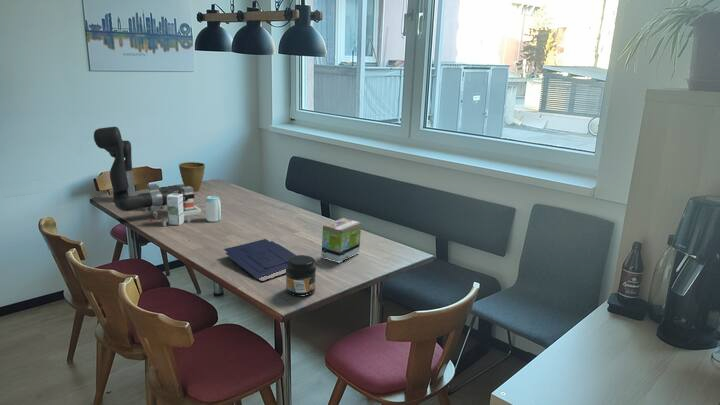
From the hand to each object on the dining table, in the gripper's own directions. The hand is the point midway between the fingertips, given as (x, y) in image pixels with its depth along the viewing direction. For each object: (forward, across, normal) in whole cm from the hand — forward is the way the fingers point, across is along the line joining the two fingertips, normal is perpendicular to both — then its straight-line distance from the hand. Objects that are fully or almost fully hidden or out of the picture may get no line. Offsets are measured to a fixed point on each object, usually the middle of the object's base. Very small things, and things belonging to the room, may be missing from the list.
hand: (190, 194), depth 264 cm
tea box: (+26, -92, +10) cm, 96 cm away
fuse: (-13, +16, +10) cm, 23 cm away
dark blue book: (-4, -80, +10) cm, 81 cm away
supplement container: (-7, -110, +10) cm, 111 cm away
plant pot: (+20, +43, +10) cm, 48 cm away
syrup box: (-13, -13, +10) cm, 21 cm away
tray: (-2, 0, +10) cm, 10 cm away
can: (+4, -18, +10) cm, 21 cm away
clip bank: (-14, +2, +10) cm, 18 cm away
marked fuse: (-2, 0, +9) cm, 9 cm away
